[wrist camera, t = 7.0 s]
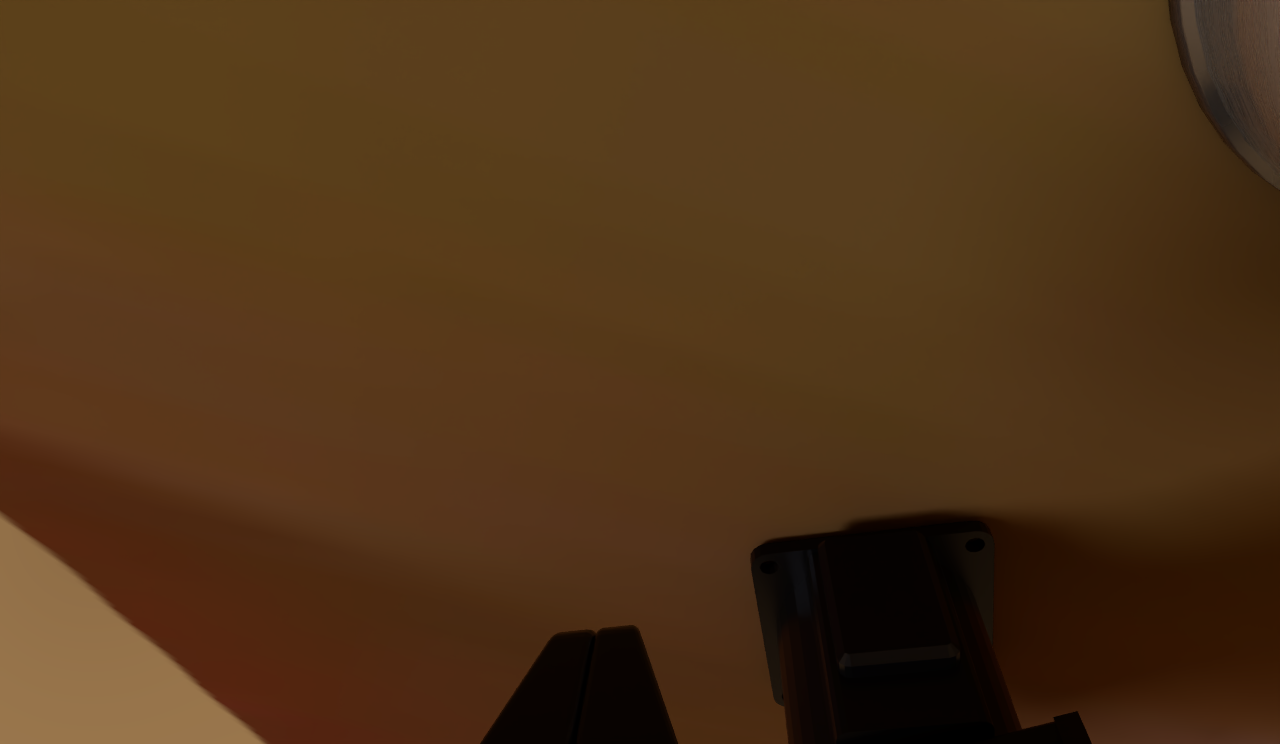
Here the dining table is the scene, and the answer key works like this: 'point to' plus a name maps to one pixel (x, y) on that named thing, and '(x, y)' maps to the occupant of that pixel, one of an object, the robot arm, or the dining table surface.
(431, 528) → the dining table surface
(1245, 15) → the pot
